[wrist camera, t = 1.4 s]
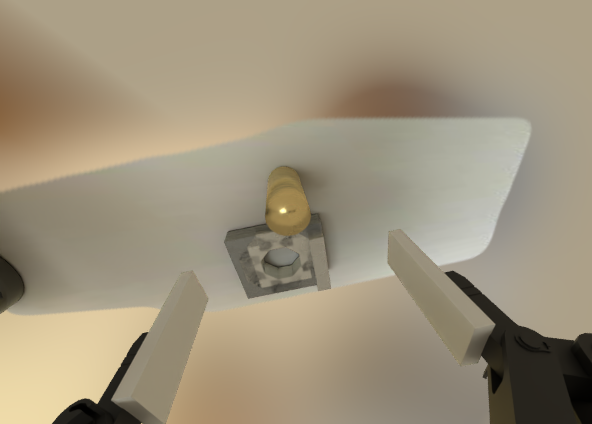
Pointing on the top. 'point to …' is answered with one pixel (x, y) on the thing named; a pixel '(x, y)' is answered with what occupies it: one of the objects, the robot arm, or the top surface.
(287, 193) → the brass rounded cylinder
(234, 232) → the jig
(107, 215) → the top surface
